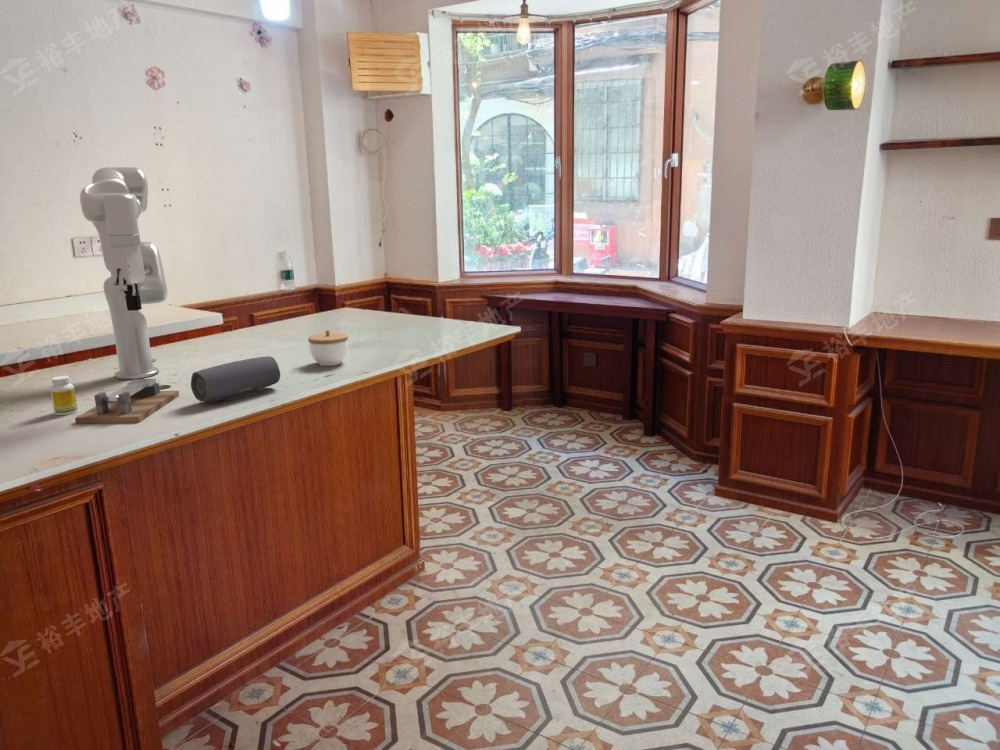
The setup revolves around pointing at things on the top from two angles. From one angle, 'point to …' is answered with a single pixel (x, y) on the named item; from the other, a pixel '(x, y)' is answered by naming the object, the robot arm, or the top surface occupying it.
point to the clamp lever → (129, 389)
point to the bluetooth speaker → (235, 379)
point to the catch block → (148, 391)
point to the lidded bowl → (328, 348)
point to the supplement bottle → (63, 396)
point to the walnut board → (125, 408)
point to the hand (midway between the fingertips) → (134, 309)
